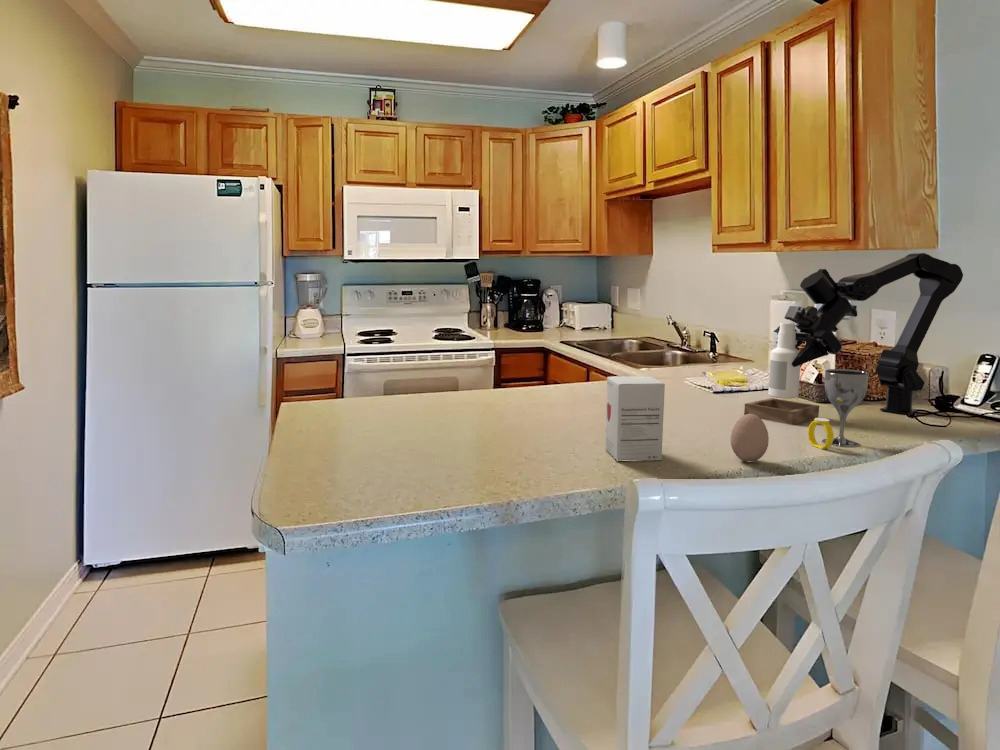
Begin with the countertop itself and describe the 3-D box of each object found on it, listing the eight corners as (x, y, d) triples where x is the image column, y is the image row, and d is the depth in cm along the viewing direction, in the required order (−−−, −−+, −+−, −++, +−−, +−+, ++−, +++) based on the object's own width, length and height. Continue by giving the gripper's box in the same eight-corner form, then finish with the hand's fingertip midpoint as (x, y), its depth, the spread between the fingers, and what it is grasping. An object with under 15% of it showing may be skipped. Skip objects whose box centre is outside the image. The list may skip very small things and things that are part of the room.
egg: (728, 455, 125) (731, 409, 124) (765, 458, 123) (768, 411, 122) (730, 465, 119) (733, 416, 118) (768, 468, 117) (772, 418, 116)
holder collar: (771, 409, 168) (771, 398, 168) (818, 417, 159) (819, 405, 158) (744, 415, 161) (744, 403, 160) (792, 424, 151) (792, 412, 151)
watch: (835, 452, 129) (839, 423, 128) (822, 452, 128) (826, 424, 127) (814, 442, 135) (818, 415, 133) (803, 443, 134) (806, 415, 133)
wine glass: (868, 448, 130) (875, 375, 128) (825, 446, 132) (831, 374, 130) (855, 439, 138) (861, 369, 136) (815, 437, 140) (820, 368, 137)
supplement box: (603, 449, 129) (605, 375, 127) (647, 448, 130) (650, 375, 128) (615, 462, 120) (618, 383, 118) (662, 461, 121) (665, 382, 119)
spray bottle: (771, 392, 164) (775, 321, 161) (800, 395, 160) (805, 322, 157) (765, 397, 158) (769, 323, 155) (795, 399, 154) (800, 324, 152)
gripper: (784, 293, 165) (742, 337, 165) (834, 295, 147) (787, 345, 147) (810, 323, 168) (769, 366, 167) (862, 329, 150) (816, 378, 149)
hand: (783, 363), depth 158 cm, fingers closed on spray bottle, 7 cm apart
